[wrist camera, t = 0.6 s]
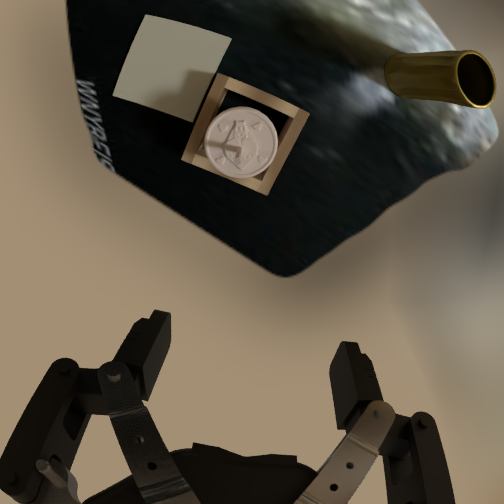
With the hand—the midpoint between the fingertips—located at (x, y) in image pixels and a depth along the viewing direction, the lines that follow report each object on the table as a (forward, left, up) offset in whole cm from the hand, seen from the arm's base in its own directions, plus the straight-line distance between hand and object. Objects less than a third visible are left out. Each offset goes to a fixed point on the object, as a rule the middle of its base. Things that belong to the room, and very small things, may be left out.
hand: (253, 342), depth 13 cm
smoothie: (-4, +5, -26) cm, 27 cm away
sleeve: (-4, +5, -26) cm, 26 cm away
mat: (-15, +9, -26) cm, 31 cm away
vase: (+10, +21, -26) cm, 35 cm away
